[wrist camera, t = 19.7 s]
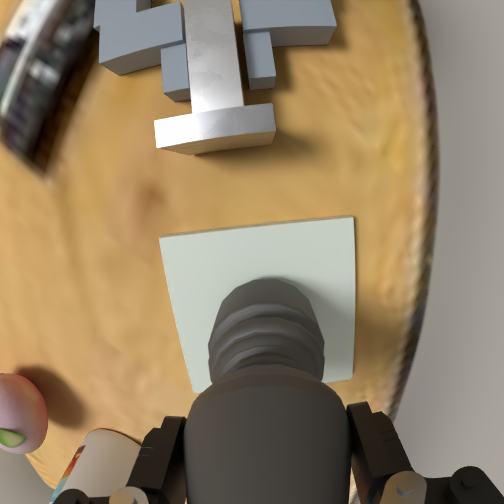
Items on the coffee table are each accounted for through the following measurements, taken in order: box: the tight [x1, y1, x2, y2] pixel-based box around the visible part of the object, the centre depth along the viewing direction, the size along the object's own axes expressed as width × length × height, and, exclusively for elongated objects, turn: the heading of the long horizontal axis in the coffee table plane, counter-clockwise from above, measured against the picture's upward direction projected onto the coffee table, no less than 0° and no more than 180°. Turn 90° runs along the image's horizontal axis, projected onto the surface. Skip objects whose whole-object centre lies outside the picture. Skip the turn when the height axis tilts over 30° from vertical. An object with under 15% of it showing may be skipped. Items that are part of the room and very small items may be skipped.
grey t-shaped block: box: [154, 0, 276, 155], centre depth 14 cm, size 5×9×6 cm, turn 6°
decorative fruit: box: [0, 373, 48, 454], centre depth 19 cm, size 9×8×10 cm
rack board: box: [159, 215, 355, 393], centre depth 20 cm, size 12×12×1 cm
